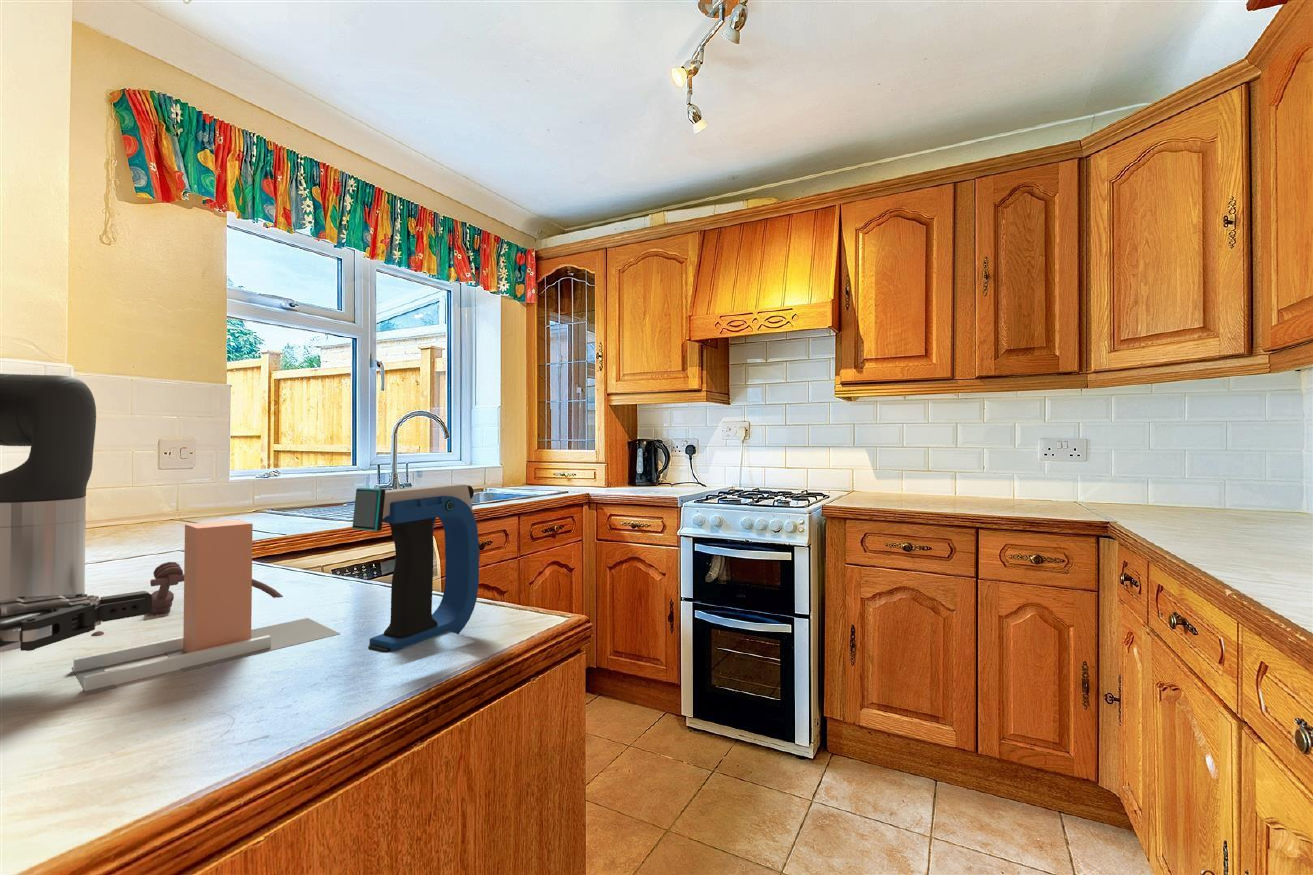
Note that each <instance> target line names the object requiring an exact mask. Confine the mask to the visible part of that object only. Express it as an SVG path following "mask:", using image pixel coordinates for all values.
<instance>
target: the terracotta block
mask: <svg viewBox="0 0 1313 875" xmlns="http://www.w3.org/2000/svg"><path fill="white" fill-rule="evenodd" d="M253 525H254V524H253V523H252V522H248V521H245V520H244V521H243V520H240V519H232V520H221V521H220V520H219V521H218V520H217V521H207V522H206V521H205V522H194V523H185V524H184V553H183V554H184V559H183V560H184V563H183V564H184V568H183V569H184V570H183V571H184V572H183V575H184V581H183V632H182V634H183V635H182V636H183V651H185V652H186V653H190V652H195V651H199V650H204V649H208V648H213V647H217V646H222V645H226V644H231V643H235V642H240V641H244V640H249V639H251V630H252V607H253V606H252V604H253V603H252V601H253V600H252V599H253V598H252V596H253V590H252V589H253V588H252V587H253V586H252V579H253Z"/></svg>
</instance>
